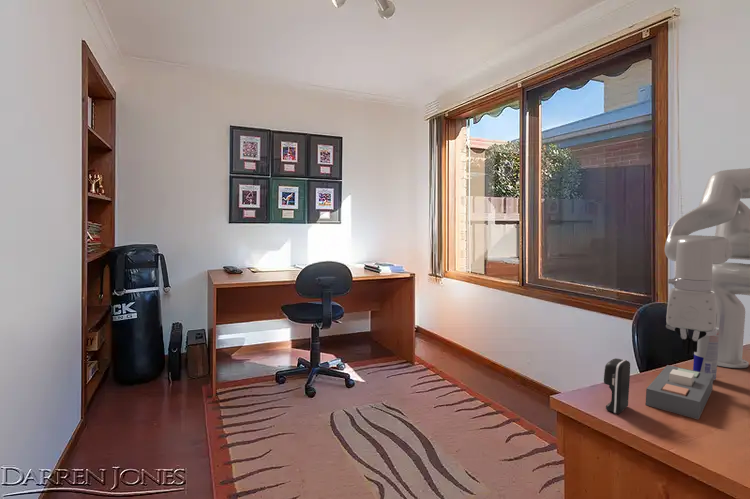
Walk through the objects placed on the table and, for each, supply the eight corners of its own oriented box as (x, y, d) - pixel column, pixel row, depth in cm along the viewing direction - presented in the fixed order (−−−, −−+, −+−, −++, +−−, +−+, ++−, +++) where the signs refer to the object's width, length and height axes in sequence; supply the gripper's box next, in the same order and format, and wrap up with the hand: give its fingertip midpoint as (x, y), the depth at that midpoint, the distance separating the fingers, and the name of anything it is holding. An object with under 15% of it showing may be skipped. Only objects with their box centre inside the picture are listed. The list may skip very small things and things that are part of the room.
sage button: (677, 379, 111) (678, 367, 111) (698, 384, 108) (698, 372, 107) (674, 383, 108) (675, 371, 107) (695, 388, 104) (696, 376, 104)
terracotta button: (665, 396, 99) (666, 383, 99) (687, 402, 96) (688, 388, 96) (661, 401, 96) (662, 388, 96) (684, 407, 93) (685, 394, 93)
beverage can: (707, 376, 117) (710, 324, 116) (720, 383, 112) (724, 329, 111) (688, 375, 117) (691, 323, 116) (700, 382, 112) (704, 328, 111)
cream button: (672, 381, 105) (673, 369, 105) (693, 386, 102) (694, 373, 102) (668, 385, 102) (669, 373, 102) (690, 391, 99) (691, 378, 99)
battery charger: (611, 401, 99) (613, 355, 98) (628, 406, 96) (631, 359, 95) (600, 409, 94) (602, 361, 94) (618, 415, 92) (621, 366, 91)
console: (666, 378, 114) (667, 365, 114) (712, 389, 107) (713, 374, 107) (645, 404, 97) (646, 388, 97) (698, 419, 90) (699, 401, 90)
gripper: (655, 284, 109) (652, 350, 110) (729, 290, 98) (724, 364, 100) (661, 280, 114) (658, 344, 116) (732, 286, 103) (728, 356, 105)
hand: (689, 353), depth 108 cm, fingers closed
